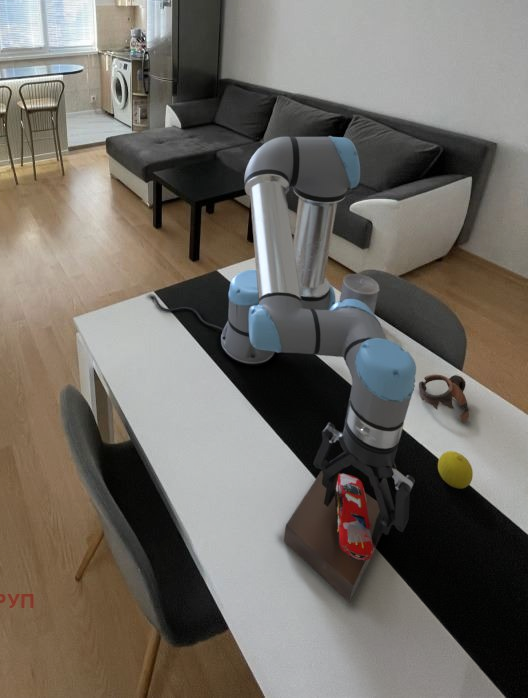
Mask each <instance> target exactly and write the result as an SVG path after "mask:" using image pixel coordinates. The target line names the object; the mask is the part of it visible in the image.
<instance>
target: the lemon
mask: <svg viewBox="0 0 528 698" xmlns="http://www.w3.org/2000/svg"><path fill="white" fill-rule="evenodd" d="M437 471H438V473H439V476H440V477H441V479H442V480H443V481H444V482H445V483H446V484H447V485H449V486H450V487H452V488H454V489H465V488H467V487H469V486H470V484H471V483H472V481H473V476H474V475H473V474H474V472H473V471H474V470H473V468H472V465H471V463H470V461H469V459H467V458H466V457H465V455H463V454H461V453H459V452H457V451H453V450H449V451H448V450H447V451H445V452H443V453H442V454H441V456H440V457H439V458H438V462H437Z"/></svg>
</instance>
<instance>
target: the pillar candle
mask: <svg viewBox="0 0 528 698" xmlns="http://www.w3.org/2000/svg"><path fill="white" fill-rule="evenodd" d="M379 292H380V285H379V283H378V282H377V281H376V280H375V279H373V278H372V277H370V276H367V275H364V274H361V273H349V274H346V275H345V276H344V277H343V278H342V286H341V290H340V295H339V300H338V301H339V302H340V301H344V300H345V299H355V300H359V301H361V302H363V303H365V304H366V305H367V306H368V307H369V308H370V309H371V311H372V312H373V313H374V314H375V312H376V308H377V301H378V298H379Z"/></svg>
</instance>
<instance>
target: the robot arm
mask: <svg viewBox="0 0 528 698" xmlns="http://www.w3.org/2000/svg"><path fill="white" fill-rule="evenodd" d="M243 179H244V192H245V193H246V195H247V196H248V197H249V198H250V210H251V223H252V235H253V249H254V258H255V260H254V261H255V269H249V270H248V269H247V270H243V271H240V272H238V273H237V274H236V275H235V276H233V277H232V279H231V281H230V284H229V290H228V315H227V317H228V318H227V322H226V323H225V325H224V327H220V326H218V325H215V324H212V323H209V322H207V321H205V320H204V318H202V316H201V314H200V313H199V312H198V311H197V310H196V309H194V308H193V307H190V306H179V307H174V308H167V307H163V306H162V305H161V304H160V302H159V301H158V298H157V297H156V296H155V295H150V296H149V297H150V299H153V300H154V302H155V303H156V305H157V307H158V308H159V309H160V310H162V311H164V312H176V311H181V310H188V311H191V312H193V313H194V314H196V316H197V318H198V319H199V320H200V322H201V323H202V324H204V325H205V326H207V327H210V328H213V329H215V330H219V331H221V332H222V333H221V335H220V346H221V349H222V351H223V352H224V354H225V355H226V356H227V357H228V358H229V359H231V361H234V362H236V363H237V364H240V365H243V366H248V367H257V366H258V367H259V366H264V365H265V364H267V363H269V362H270V361H272V359H273V358H274V356H275V354H276V353H277V354H279V353H288V354H304V355H316V356H324V357H336V358H337V357H338V358H343V359H344V363H345V365H346V367H347V369H348V371H349V374H350V377H351V388H350V395H349V399H348V404H347V408H346V416H345V419H344V425H343V430H342V431H339V430H337V429H336V426H335V425H334V424H333V423H332V422H328V423H327V424H326V426H325V427H324V429H323V430H322V431H321V439H322V441H321V444H320V446H319V448H318V451H317V453H316V455H315V458H314V460H313V463H312V464H313V466H314V467H315V468H316V469H317V470H319V469H320V470H321V471H322V472H323V478H322V485H323V486H324V487H325V488H327V489H326V494H325V500H324V504H325V505H326V506H327V507H328V506H329V504H330V503H331V501H332V499H333V498H334V496H335V491H336V486H337V481H338V476H339V473H340V471H342V470H343V469H345V468H348V467H350V466H352V467H353V468H354V469H357V470H359V471H360V472H361V473H363V475H365V476H366V477H368V480H369V483H370V486H371V487H372V488H373V491H374V495H375V498H376V499H375V500H376V501H377V502H378V506H379V509H380V512H379V514H378V516H377V518H376V522H375V526H374V530H373V534H372V543H373V544H374V545H376V543H377V541H378V539H379V537H380V535H381V532H383V533H382V534H384V535H385V536H388V535H389V533H390V531H391V529H392V527H393V526H394V527H395V529H396V530H397V531H399V532H401V533H403V532H404V531H405V529H406V527H407V524H408V523H409V519H410V499H411V498H410V497H411V491H412V489H413V487H414V484H415V483H416V482H415V481H416V480H415V478H414V477H413V476H412V475H409V474H406V475H404V474H402V472H400V471H399V470H398V469H397V466H396V463H395V458H396V455H397V451H398V447H399V442H400V441H401V440H400V439H401V436H402V432H403V429H404V426H405V425H404V424H405V420H406V417H407V413H408V409H409V406H410V404H411V403H410V402H411V399H412V396H413V393H414V391H415V388H416V384H415V383H416V374H417V365H416V362H415V359H414V358H413V355H412V354H411V353H410V352H409V351H406V350H404V349H403V347H402V346H401V344H398V343H397V342H394V341H392V340H389V339H388V338H387V336H386V334H385V331H384V329H383V328H382V325H381V322H380V320H379V319H378V317H377V316H376V315H375V312H374V313H373V312H372V311H371V309H370V308H369V307H368V306H367V305H366V304H365V303H363V302H361V301H359V300H355V299H345V300H344V301H340V300H338V301H336V293H335V290H334V288H333V285H332V284H330V282H329V279H328V278H327V277H326V272H327V267H328V261H329V255H330V249H331V243H332V237H333V231H334V224H335V218H336V212H337V206H338V203H339V202H342V201H343V200H345V198H346V196H347V191H348V189H350V190H352V189H354V188H357V187H358V185H359V183H360V179H361V165H360V157H359V153H358V151H357V148H356V146H355V144H354V143H353V141H352V140H351V139H350V138H347V137H341V136H339V137H338V136H332V135H328V136H278V137H275V138H271V139H270V140H268V141H266V142H264V143H263V144H262V145H261V146H260V147H259V148H257V150H256V151H255V152H254V154H252V156H251V158H250V159H249V161H248V163H247V165H246V168H245V173H244V178H243ZM290 187H291V188H292V191H293V193H294V194H295V195H296V196H297V197H298V200H297V208H296V217H295V223H294V231H293V232H294V234H292V227H291V221H290V220H291V219H290V212H289V206H288V205H289V204H288V199H287V194H288V192H289V191H290ZM339 301H340V302H339ZM337 441H338V443H339V445H340V447H341V449H342V453H340V454H339V455H337V456H336V457H334V458H333V459H330V460H329V462H328V460H326V459H327V458H328V455H329V452H330V451H331V448H332V446H333V444H334V443H337ZM387 478H392V479H393V480H394V482H393V483H394V485H395V486H394V488H395V490H396V492H395V504H394V501H393V498H392V494H391V489H390V486H389V483H388V479H387Z"/></svg>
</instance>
